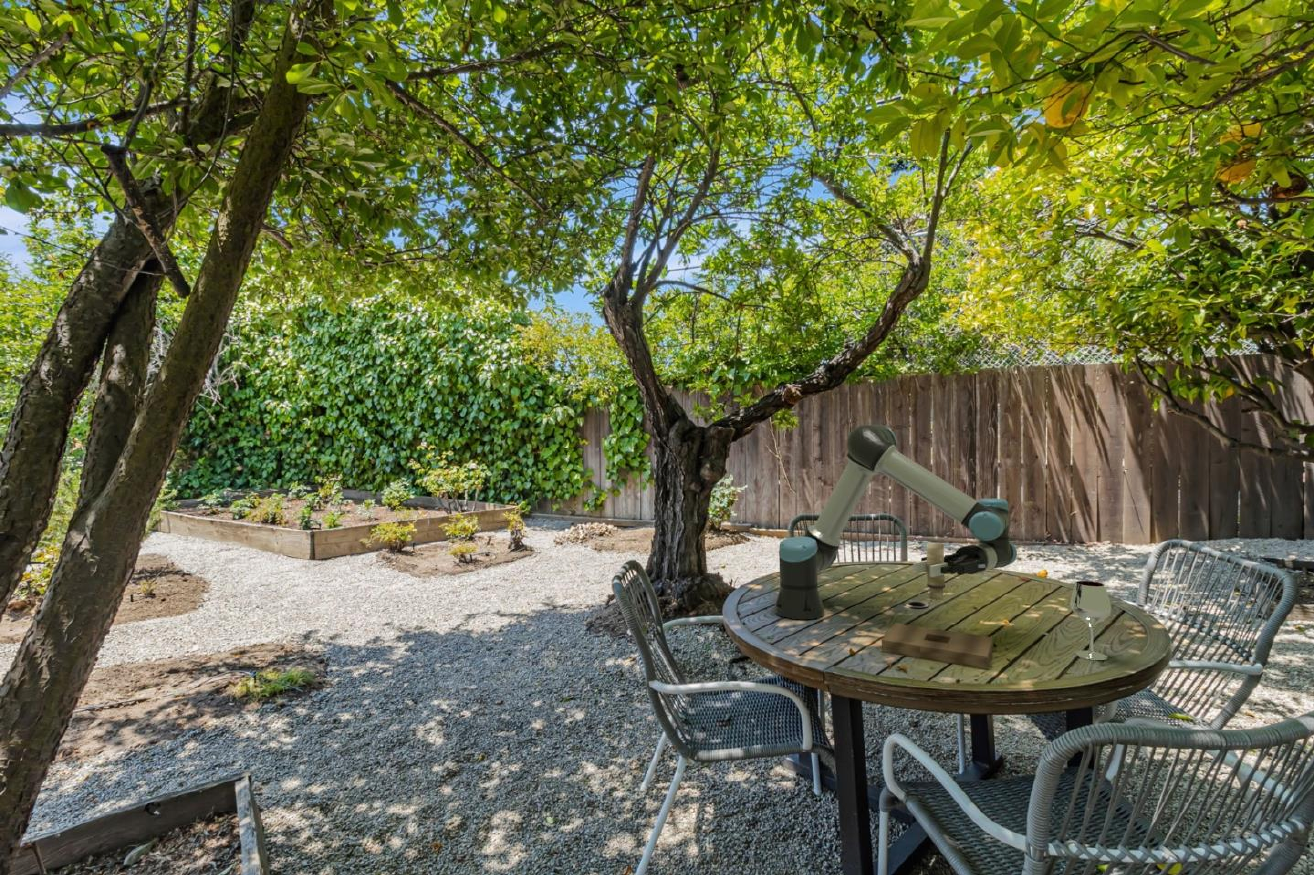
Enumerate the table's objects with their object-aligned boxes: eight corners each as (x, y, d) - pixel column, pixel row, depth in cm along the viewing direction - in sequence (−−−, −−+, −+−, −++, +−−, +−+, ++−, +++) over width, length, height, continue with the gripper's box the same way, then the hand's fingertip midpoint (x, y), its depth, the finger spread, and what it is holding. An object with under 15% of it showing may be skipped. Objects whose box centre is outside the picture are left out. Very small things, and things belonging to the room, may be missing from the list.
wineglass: (1114, 655, 146) (1112, 582, 147) (1110, 665, 140) (1108, 589, 141) (1074, 648, 152) (1072, 578, 152) (1069, 657, 146) (1067, 584, 146)
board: (881, 651, 153) (881, 639, 153) (895, 633, 166) (894, 623, 166) (987, 669, 139) (987, 656, 139) (992, 648, 153) (992, 637, 153)
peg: (926, 598, 152) (924, 544, 152) (929, 595, 156) (927, 542, 156) (944, 601, 150) (942, 545, 150) (946, 597, 153) (945, 543, 153)
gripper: (1007, 577, 155) (955, 591, 143) (946, 567, 169) (894, 578, 157) (1006, 549, 155) (954, 560, 143) (945, 540, 170) (893, 550, 157)
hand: (922, 569), depth 150 cm, fingers closed on peg, 4 cm apart
